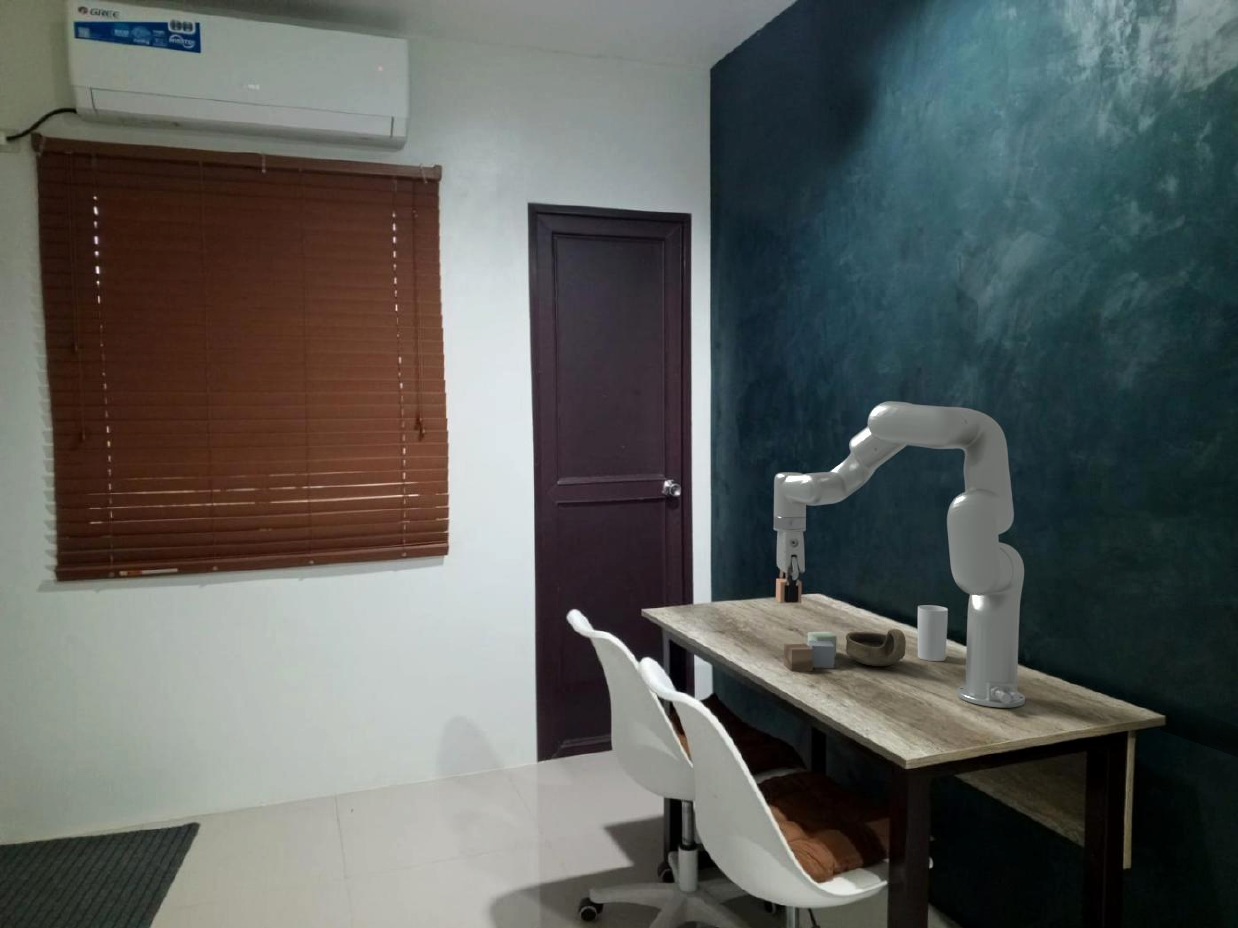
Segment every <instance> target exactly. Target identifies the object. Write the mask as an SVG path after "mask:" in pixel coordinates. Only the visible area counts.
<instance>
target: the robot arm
mask: <svg viewBox="0 0 1238 928" xmlns="http://www.w3.org/2000/svg"><path fill="white" fill-rule="evenodd" d="M848 446H849V451H850V453H849V455H848V456H847V458H845V459H844V460H843V461H842V462H841V463H840V464H838V465H837V466H835V467H834V468H833V469H831V470H830V471H826V472H825V471H824V472H821V471H820V472H811V473H810V472H809V473H804V474H803V473H802V472H791V471H790V472H786V471H785V472H778V473H777V474H775V476H774V479H773V480H774V481H773V491H774V492H773V530H774V531H776V532H777V534H776V535H777V536H776V538H777V539H776V567H778V569H779V579H786V585H785V589H784V601H785V602H798V580H799V574H803V573H805V571H806V567H805V563H806V562H805V541H804V539H805V538H804V532H806V530H807V528H806V526H807V525H806V522H807V521H806V520H807V517H806V515H807V510H806V509H807V506H814V507H815V506H823V505H830V504H831V505H833V504H837V503H840V502H842V501H843V500H845V499H846V498H848V497H849V496H850V495H852V494H853V493H855V492H856V491H857V490H858V489H860V488H861V487H863V486H864V485H865V484H866V483H867V482H868V481H869V480H870V478H871V477H872V476H873V474H874V473H875V471H876V470H877V469H878V468H879V467H880V466H881V465H883V464H885V462H887V461H888V460H890V459H891V458H892V457H893V456H895V455H896V454H897V453H898V452H901V450H903V449H905V447H907V446H914V447H921V448H929V449H938V450H947V449H948V450H949V449H951V450H954V449H959V450H963V452H964V462H963V477H964V492H962V493H959V495H957V496H956V497H954V498H953V500H952V502H951V503H950V505H949V507H948V511H947V515H946V516H947V517H946V526H947V527H946V528H947V529H946V530H947V538H948V550H949V560H950V561H949V562H950V569H951V574H952V577H953V579H954V580H953V581H954V582H955V583H956V585H957V587H959V589H961V590H962V591H963V592H965V593H966V594H969V597H968V605H967V620H966V622H967V623H966V624H967V625H966V627H967V628H966V654H965V657H966V658H965V659H966V660H965V684H964V685H963V684H962V685H960V686H958V687H957V688H956V694H957V697H959V698H960V699H962V700H963V701H965V702H969V703H972V704H975V705H978V706H984V707H992V708H999V709H1000V708H1003V709H1004V708H1006V709H1008V708H1017V707H1018V708H1019V707H1021V706H1023V705H1024V704H1025V703H1026V697H1025V695H1024V694H1023V693H1021V692H1020V691H1018V688H1017V687H1018V667H1019V666H1018V665H1019V664H1018V663H1019V659H1018V658H1019V630H1020V629H1019V626H1020V609H1021V607H1020V606H1021V599H1022V589H1023V585H1024V578H1025V567H1024V566H1025V565H1024V560H1023V559H1022V557H1021V555H1020V553H1019V552H1018V551H1017V549H1015V548H1014V547H1013V546H1011V545H1009V544H1007V543H1003V542H999V535H1001V534H1003V533H1005V532H1006V531H1008V530H1009V529H1010V528H1011V526H1012V524H1013V522H1014V518H1015V517H1014V516H1015V512H1014V502H1013V493H1012V482H1011V475H1010V467H1009V454H1008V445H1007V439H1006V436H1005V432H1004V431H1003V429H1002V427H1001V426H1000V425H999V424H998V422H997V421H996V420H995V419H993V418H992V417H991V416H989V415H987V414H986V413H984V412H981V411H979V410H974V409H973V408H968V407H967V408H966V407H961V406H960V407H959V406H958V407H957V406H955V407H954V406H952V407H951V406H938V405H937V406H936V405H924V404H913V403H910V402H905V401H904V402H903V401H892V400H890V401H885V402H884V401H883V402H882V403H879V404H877V405H876V406H875V407H873V409H872V410H871V411H870V413H869V415H868V418H867V426H866V427H865V428H863V429H862V430H861V431H860V432H858V433H857V434H856V435H854V436H853V437H852V438H850V441H849V445H848Z"/></svg>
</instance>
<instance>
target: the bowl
mask: <svg viewBox="0 0 1238 928" xmlns="http://www.w3.org/2000/svg"><path fill="white" fill-rule="evenodd" d="M845 640H846V645H845V653H846V655H848V656H849V657H851V658H852V659H854V660H856V661H857V662H859V663H861V664H863V665H867V666H869V667H870V666H872V667H886V666H891V665H893V664H895V663H898V662H899V661H900V660H902V659H903V658H904V657H905V654H906V643H907V641H906V640H907V639H906V636H905V634H904V632H903V631H902V630H900V629H898V628H891V629H889V630H888V631H887V633H886V634H885V633H880V632H874V631H873V632H872V631H851V632H848V633H847V634H846V635H845Z"/></svg>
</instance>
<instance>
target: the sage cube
mask: <svg viewBox="0 0 1238 928" xmlns="http://www.w3.org/2000/svg"><path fill="white" fill-rule="evenodd" d="M809 640H810V641H831V642H832V644H833V645H834V658H835V657H837V636H836V635H835V634H833V633H831V632H829V631H809V632H807V645H808V646H809Z"/></svg>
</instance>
